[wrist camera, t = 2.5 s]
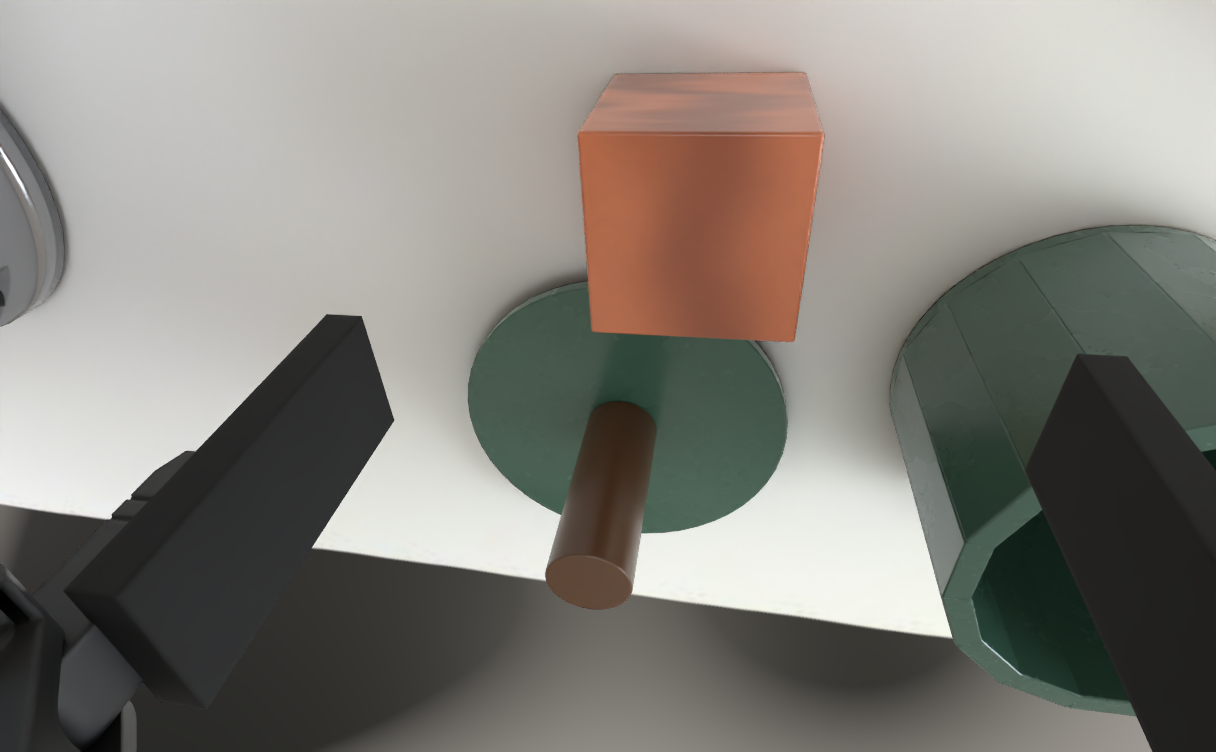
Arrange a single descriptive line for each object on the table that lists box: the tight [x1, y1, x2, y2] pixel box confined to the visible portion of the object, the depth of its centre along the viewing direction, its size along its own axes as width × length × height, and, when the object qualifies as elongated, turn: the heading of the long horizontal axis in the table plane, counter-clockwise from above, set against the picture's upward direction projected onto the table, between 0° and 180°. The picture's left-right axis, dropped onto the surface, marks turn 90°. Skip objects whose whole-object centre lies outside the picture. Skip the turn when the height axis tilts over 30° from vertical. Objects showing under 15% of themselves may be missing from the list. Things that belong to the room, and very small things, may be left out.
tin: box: [890, 225, 1216, 716], centre depth 22 cm, size 13×13×10 cm
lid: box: [468, 282, 787, 610], centre depth 26 cm, size 14×14×9 cm
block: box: [577, 72, 825, 342], centre depth 20 cm, size 6×6×6 cm
